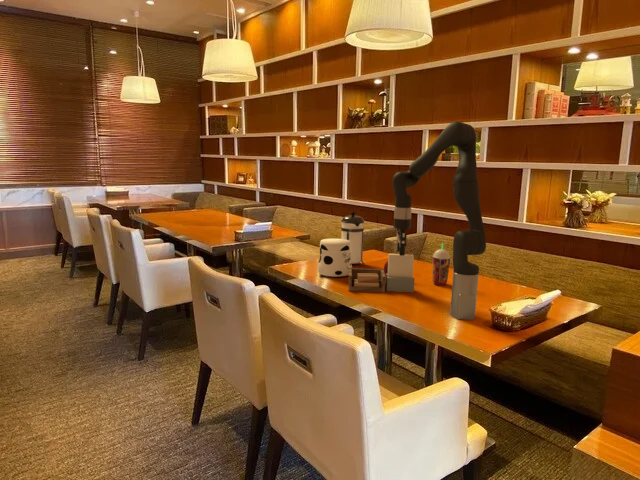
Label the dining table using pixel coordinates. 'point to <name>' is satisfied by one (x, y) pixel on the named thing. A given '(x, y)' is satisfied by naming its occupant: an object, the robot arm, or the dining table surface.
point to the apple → (386, 268)
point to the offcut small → (367, 277)
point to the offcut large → (365, 284)
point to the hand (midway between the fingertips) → (400, 253)
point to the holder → (399, 284)
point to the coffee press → (354, 236)
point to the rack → (381, 287)
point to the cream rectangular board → (400, 265)
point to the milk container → (334, 258)
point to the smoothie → (441, 266)
